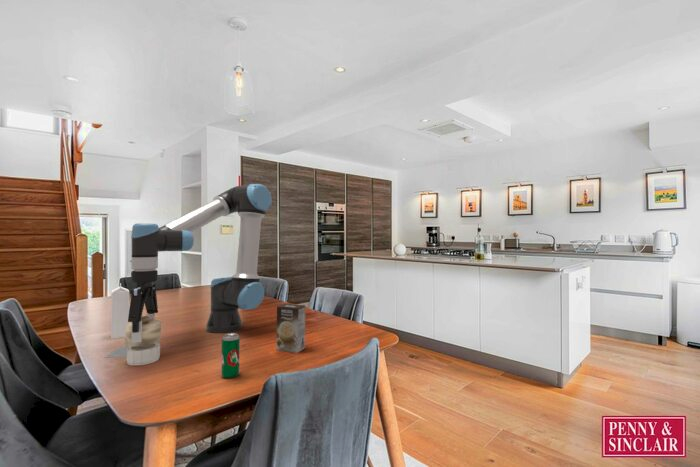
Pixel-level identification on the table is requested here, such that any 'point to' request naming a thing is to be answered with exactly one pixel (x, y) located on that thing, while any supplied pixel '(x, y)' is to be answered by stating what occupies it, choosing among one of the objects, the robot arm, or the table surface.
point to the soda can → (230, 355)
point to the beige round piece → (144, 332)
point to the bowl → (143, 354)
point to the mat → (119, 352)
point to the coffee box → (290, 327)
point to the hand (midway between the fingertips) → (143, 337)
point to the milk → (119, 311)
